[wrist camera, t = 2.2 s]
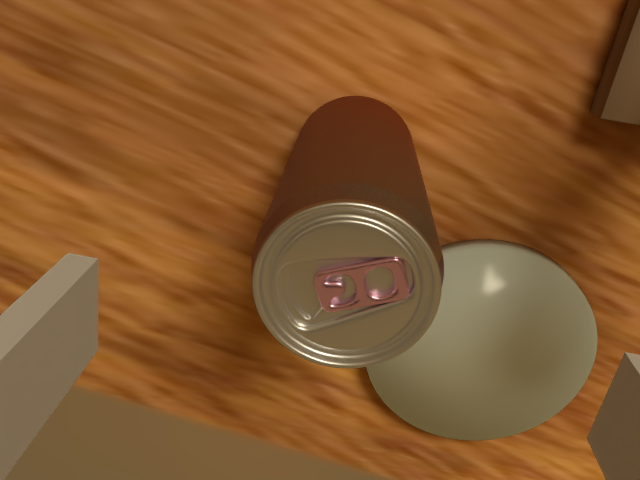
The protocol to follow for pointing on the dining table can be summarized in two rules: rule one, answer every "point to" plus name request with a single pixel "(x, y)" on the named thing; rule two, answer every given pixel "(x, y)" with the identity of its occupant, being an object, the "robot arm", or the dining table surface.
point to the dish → (493, 346)
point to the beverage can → (349, 241)
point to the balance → (622, 72)
